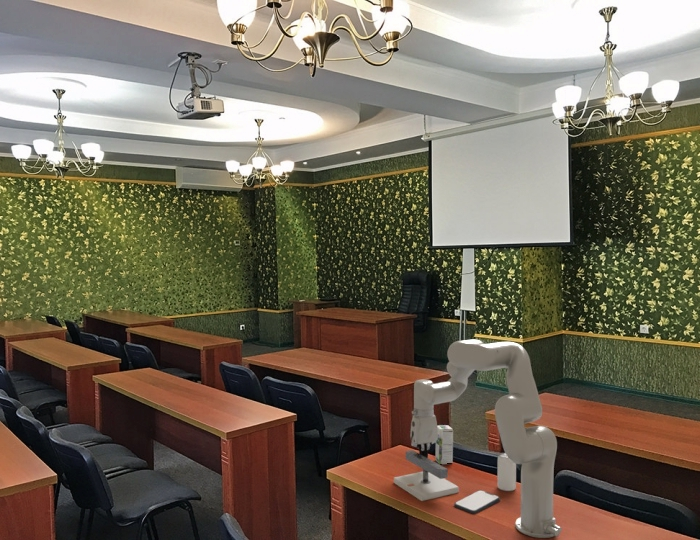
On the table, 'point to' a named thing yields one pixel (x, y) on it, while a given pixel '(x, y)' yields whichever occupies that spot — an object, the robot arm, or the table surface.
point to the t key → (426, 465)
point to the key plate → (425, 486)
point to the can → (506, 473)
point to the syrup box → (444, 444)
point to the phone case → (477, 502)
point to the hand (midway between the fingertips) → (423, 459)
